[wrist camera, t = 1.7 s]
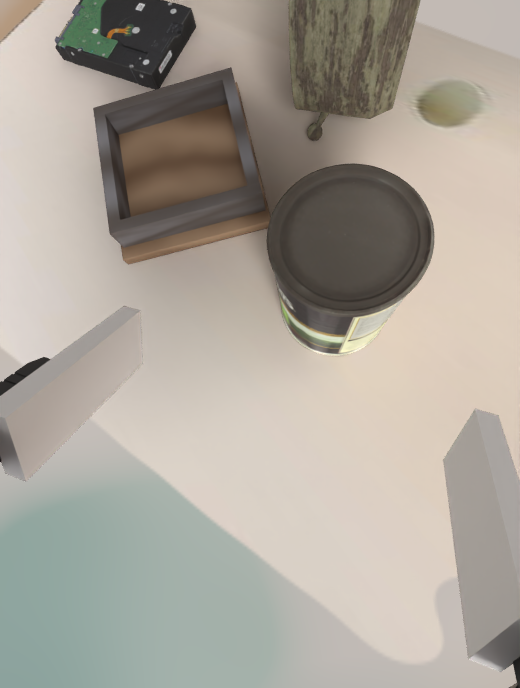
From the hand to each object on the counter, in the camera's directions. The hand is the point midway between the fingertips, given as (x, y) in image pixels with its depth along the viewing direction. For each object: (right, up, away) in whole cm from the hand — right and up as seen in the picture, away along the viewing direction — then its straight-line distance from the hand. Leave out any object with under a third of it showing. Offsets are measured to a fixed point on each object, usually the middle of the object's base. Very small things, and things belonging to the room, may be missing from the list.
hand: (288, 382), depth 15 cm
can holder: (-9, +21, +28) cm, 36 cm away
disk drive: (-18, +39, +34) cm, 55 cm away
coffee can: (+6, +5, +23) cm, 24 cm away
